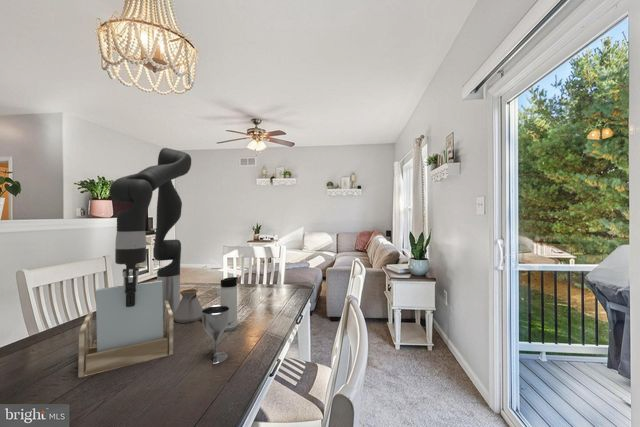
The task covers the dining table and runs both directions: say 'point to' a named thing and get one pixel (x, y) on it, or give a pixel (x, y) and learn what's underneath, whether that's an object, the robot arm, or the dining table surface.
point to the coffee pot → (188, 307)
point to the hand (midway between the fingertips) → (130, 305)
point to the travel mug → (229, 300)
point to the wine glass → (216, 327)
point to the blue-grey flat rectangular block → (129, 316)
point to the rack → (121, 349)
